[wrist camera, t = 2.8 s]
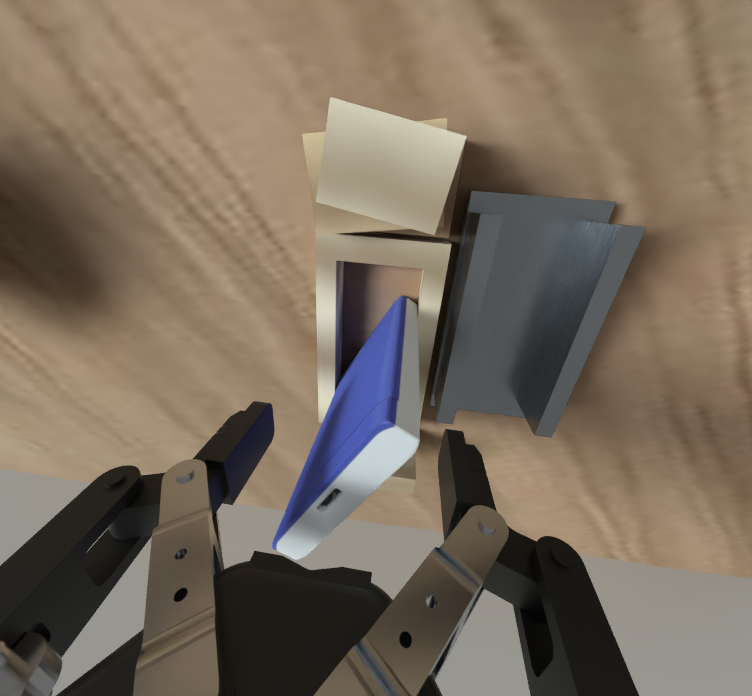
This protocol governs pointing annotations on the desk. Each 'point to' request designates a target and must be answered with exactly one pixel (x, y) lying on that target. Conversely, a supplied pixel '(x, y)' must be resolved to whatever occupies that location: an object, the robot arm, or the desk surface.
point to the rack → (330, 309)
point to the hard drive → (359, 433)
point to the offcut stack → (382, 172)
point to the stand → (527, 304)
